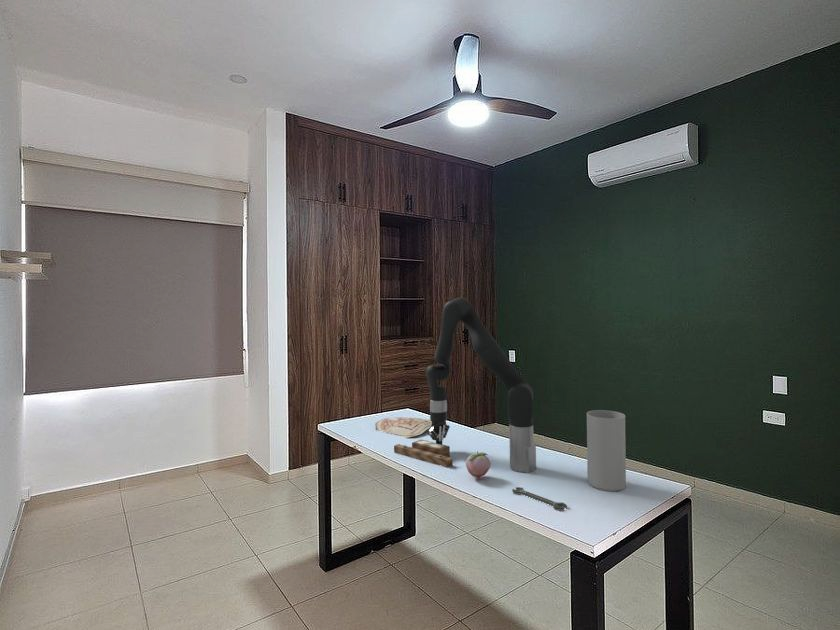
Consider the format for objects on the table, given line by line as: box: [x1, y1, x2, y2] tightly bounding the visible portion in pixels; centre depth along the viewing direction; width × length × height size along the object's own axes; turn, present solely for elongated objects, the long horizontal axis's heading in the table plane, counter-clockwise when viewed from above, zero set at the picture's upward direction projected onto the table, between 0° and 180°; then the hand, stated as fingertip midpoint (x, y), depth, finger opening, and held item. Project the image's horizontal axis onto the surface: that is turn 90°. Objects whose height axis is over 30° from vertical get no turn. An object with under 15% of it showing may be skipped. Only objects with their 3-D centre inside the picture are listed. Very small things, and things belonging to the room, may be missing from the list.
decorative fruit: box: [465, 451, 491, 479], centre depth 167 cm, size 9×8×10 cm
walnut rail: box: [393, 443, 454, 469], centre depth 189 cm, size 30×3×4 cm, turn 49°
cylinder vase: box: [586, 409, 627, 492], centre depth 158 cm, size 12×12×25 cm
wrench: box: [511, 486, 568, 512], centre depth 148 cm, size 5×20×1 cm, turn 40°
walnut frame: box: [411, 439, 451, 458], centre depth 193 cm, size 16×6×5 cm, turn 49°
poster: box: [375, 416, 432, 439], centre depth 237 cm, size 28×6×30 cm
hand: (439, 448), depth 198 cm, fingers closed
